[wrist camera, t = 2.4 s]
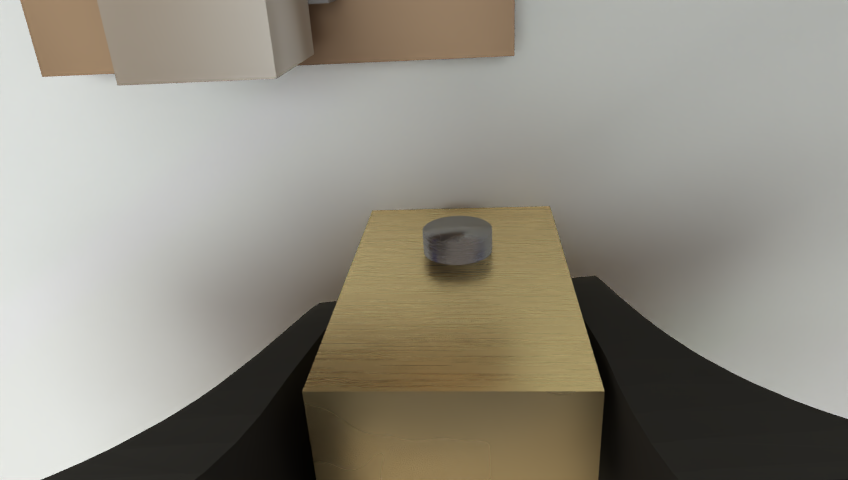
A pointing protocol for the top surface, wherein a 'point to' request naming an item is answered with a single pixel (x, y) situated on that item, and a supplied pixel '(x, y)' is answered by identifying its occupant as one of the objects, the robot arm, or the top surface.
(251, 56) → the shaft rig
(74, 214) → the top surface
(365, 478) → the wooden block with knob
